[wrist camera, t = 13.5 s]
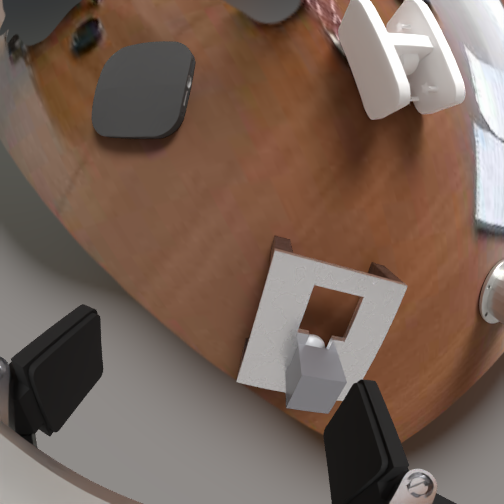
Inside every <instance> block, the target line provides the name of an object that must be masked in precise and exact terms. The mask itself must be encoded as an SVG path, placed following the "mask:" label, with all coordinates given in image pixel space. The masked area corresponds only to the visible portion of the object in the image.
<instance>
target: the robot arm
mask: <svg viewBox="0 0 504 504" xmlns="http://www.w3.org/2000/svg"><path fill="white" fill-rule="evenodd" d="M479 310H480V314H481V316H482V318H483V319H484V320H485V321H486V322H488V323H491V324H492V323H497V322H499V321H500V322H501V323H502V324H503V325H504V259H503V260H501V261H499V262H498V263H497V264H496V265H495V266H494V267H493V268H492V270H491V271H490V273H489V274H488V276H487V278H486V280H485V282H484V285H483V287H482V291H481V295H480V301H479ZM100 328H101V327H100V316H99V315H98V314H97V311H96V310H95V309H93V308H91V307H88V306H86V305H80V306H79V307H77V308H76V309H75V310H73V311H72V312H71V313H69V314H68V315H66V316H65V317H64V318H62V319H61V320H60V321H58V322H57V323H56V324H54V325H53V326H52V327H51V328H49V329H48V330H47V331H45V332H44V333H43V334H42V335H40V336H39V337H37V338H36V339H35V340H34V341H33V342H31V343H30V344H29V345H27V346H26V347H25V348H24V349H22V350H21V351H20V352H19V353H17V354H16V355H15V356H14V357H13V358H12V359H11V360H12V362H11V363H10V364H8V362H7V361H6V360H5V359H4V358H2V357H0V504H142V503H139V502H137V501H134V500H132V499H129V498H127V497H124V496H122V495H120V494H117V493H115V492H113V491H111V490H109V489H107V488H104V487H102V486H100V485H98V484H96V483H94V482H92V481H90V480H89V479H87V478H84V477H83V476H81V475H79V474H77V473H76V472H74V471H72V470H71V469H69V468H67V467H65V466H64V465H62V464H61V463H59V462H57V461H56V460H54V459H52V458H51V457H50V456H48V455H47V454H45V453H44V452H42V451H41V450H39V449H38V448H37V442H36V435H35V433H36V432H37V430H38V429H39V430H41V431H42V432H44V433H45V434H47V435H48V436H51V435H52V433H53V432H58V431H59V430H60V428H61V427H62V426H63V425H64V423H65V422H66V421H67V419H68V418H69V417H70V415H71V414H72V413H73V412H74V410H75V409H76V408H77V406H78V405H79V404H80V403H81V401H82V400H83V399H84V397H85V396H86V395H87V393H88V392H89V391H90V390H91V389H92V387H93V386H94V385H95V384H96V382H97V381H98V380H99V379H100V377H101V376H102V373H103V362H102V347H101V329H100ZM324 443H325V451H326V458H327V466H328V473H329V482H330V490H331V500H332V504H456V503H454V502H452V501H450V500H448V499H446V498H444V497H442V496H441V495H439V494H437V493H436V491H437V483H436V480H435V478H434V477H433V476H432V475H431V474H430V473H429V472H427V471H425V470H422V469H413V470H411V471H409V470H408V466H409V464H408V461H407V458H406V455H405V453H404V450H403V447H402V445H401V442H400V439H399V437H398V434H397V432H396V429H395V427H394V424H393V422H392V419H391V417H390V414H389V412H388V409H387V407H386V404H385V402H384V400H383V397H382V395H381V393H380V390H379V388H378V386H377V383H376V382H375V381H371V380H359V381H358V382H357V383H354V384H353V385H352V387H351V388H350V390H349V392H348V393H347V395H346V397H345V398H344V400H343V402H342V403H341V405H340V406H339V408H338V410H337V411H336V413H335V414H334V416H333V417H332V419H331V420H330V422H329V423H328V425H327V426H326V428H325V430H324Z"/></svg>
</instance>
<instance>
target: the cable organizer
mask: <svg viewBox="0 0 504 504" xmlns="http://www.w3.org/2000/svg"><path fill="white" fill-rule="evenodd" d="M338 34H339V39H340V43H341V45H342V48H343V50H344V53H345V55H346V58H347V60H348V63H349V65H350V68H351V71H352V73H353V76H354V79H355V82H356V85H357V87H358V90H359V93H360V96H361V99H362V103H363V106H364V109H365V111H366V113H367V115H368V117H369V118H370V119H371V120H376V119H382V118H384V117H386V116H388V115H390V114H392V113H393V112H395V111H397V110H399V109H401V108H403V107H405V106H407V105H408V104H409V105H410V101H413V103H414V105H415V107H416V109H417V111H418V112H419V113H421V114H432V113H435V112H438V111H440V110H443V109H446V108H449V107H452V106H454V105H457V104H460V103H462V102H463V101H464V99H465V86H464V82H463V79H462V76H461V74H460V71H459V69H458V66H457V64H456V60H455V59H454V56H453V54H452V52H451V50H450V47H449V45H448V43H447V41H446V39H445V37H444V35H443V33H442V31H441V29H440V27H439V25H438V23H437V21H436V19H435V18H434V16H433V14H432V12H431V11H430V9H429V7H428V6H427V5H426V4H425V3H424V2H423V1H422V0H405V1H404V2H403V3H402V5H401V6H400V7H399V9H398V10H397V11H396V13H395V14H394V15H393V16H392V18H391V19H390V20H389V22H388V23H387V26H386V28H385V26H384V24H383V22H382V20H381V18H380V16H379V15H378V13H377V11H376V9H375V7H374V5H373V4H372V3H371V1H370V0H351V1H350V3H349V5H348V8H347V10H346V12H345V15H344V17H343V19H342V22H341V24H340V27H339V30H338ZM410 94H411V96H410Z"/></svg>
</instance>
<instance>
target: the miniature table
mask: <svg viewBox="0 0 504 504" xmlns="http://www.w3.org/2000/svg"><path fill="white" fill-rule="evenodd" d="M314 285H317V286H321V287H325V288H329V289H333V290H337V291H341V292H345V293H349V294H353V295H358V296H360V298H359V301H358V303H357V306H356V308H355V311H354V313H353V316H352V318H351V320H350V323H349V325H348V327H347V330H346V332H345V334H344V336H343V337H338V336H333V335H332V336H331V339H330V341H329V343H328V345H327V348H326V349H329V350H335V351H337V352H338V355H339V358H340V362H341V365H342V368H343V371H344V374H345V377H346V381H347V383H346V385H345V387H344V388H343V390H342V392H341V394H340V395H339V397H338V399H337V400H340V401H343V400H344V398H345V397H346V395H347V393H348V392H349V390H350V388H351V387H352V385H353V384H354V383H357V382H358V381H359V380H362V379H363V377H364V376H365V374H366V372H367V370H368V369H369V367H370V365H371V363H372V361H373V359H374V358H375V356H376V354H377V352H378V350H379V348H380V346H381V344H382V342H383V340H384V338H385V336H386V334H387V332H388V330H389V328H390V325H391V323H392V321H393V319H394V317H395V315H396V312H397V310H398V308H399V305H400V303H401V301H402V298H403V296H404V293H405V291H406V288H407V285H406V284H405V283H403V282H402V281H401V280H400V279H399V278H398V277H396V276H395V275H394V274H393V273H392V272H391V271H389V270H388V269H387V268H386V267H385V266H383V265H379V264H376V263H372V264H371V267H370V269H369V272H368V273H365V272H362V271H358V270H354V269H351V268H347V267H343V266H340V265H336V264H332V263H329V262H325V261H321V260H317V259H314V258H310V257H306V256H302V255H299V254H295V253H293V250H292V246H291V242H290V239H286V238H282V237H278V236H275V237H274V241H273V245H272V248H271V258H270V268H269V271H268V275H267V278H266V282H265V286H264V289H263V292H262V296H261V299H260V303H259V306H258V310H257V313H256V317H255V320H254V323H253V327H252V330H251V334H250V337H249V339H246V340H245V344H244V347H243V351H242V356H241V361H240V366H239V371H238V376H237V381H236V382H238V383H242V384H247V385H251V386H255V387H260V388H265V389H270V390H275V391H280V392H285V393H286V382H285V374H286V372H287V369H288V367H289V365H290V362H291V360H292V357H293V355H294V352H295V350H296V347H297V345H298V343H299V344H304V345H306V342H307V340H308V337H309V330H304V329H300V328H299V326H300V323H301V321H302V318H303V315H304V312H305V310H306V307H307V304H308V301H309V298H310V295H311V292H312V290H313V287H314Z"/></svg>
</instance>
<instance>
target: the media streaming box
mask: <svg viewBox="0 0 504 504" xmlns="http://www.w3.org/2000/svg"><path fill="white" fill-rule="evenodd" d="M194 69H195V58H194V56H193V54H192V53H191V52H190V50H189V49H188V48H187V47H186V46H185V45H183V44H181V43H179V42H148V43H141V44H136V45H131V46H127V47H124V48H122V49H120V50H119V51H117V52H116V53H115V54H113V55H112V56H111V57H110V58H109V60H108V61H107V62H106V64H105V65H104V67H103V70H102V72H101V75H100V77H99V80H98V84H97V87H96V91H95V96H94V101H93V108H92V123H93V126H94V128H95V130H96V131H97V133H99V134H100V135H102V136H106V137H113V138H135V139H153V138H164V137H167V136H169V135H171V134H172V133H173V132H175V131H176V130H177V129H178V128H179V126H180V125H181V123H182V122H183V119H184V116H185V112H186V108H187V103H188V99H189V94H190V90H191V85H192V80H193V75H194Z"/></svg>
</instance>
